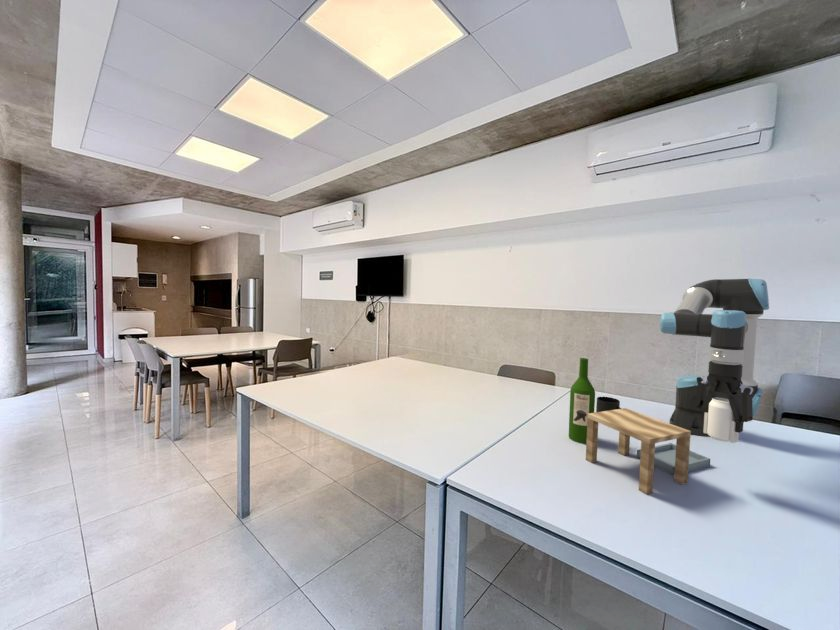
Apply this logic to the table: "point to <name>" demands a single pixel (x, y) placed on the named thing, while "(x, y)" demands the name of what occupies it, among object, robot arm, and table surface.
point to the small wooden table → (648, 434)
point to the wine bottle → (581, 404)
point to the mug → (607, 404)
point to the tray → (666, 458)
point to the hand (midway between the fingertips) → (720, 436)
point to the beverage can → (719, 419)
